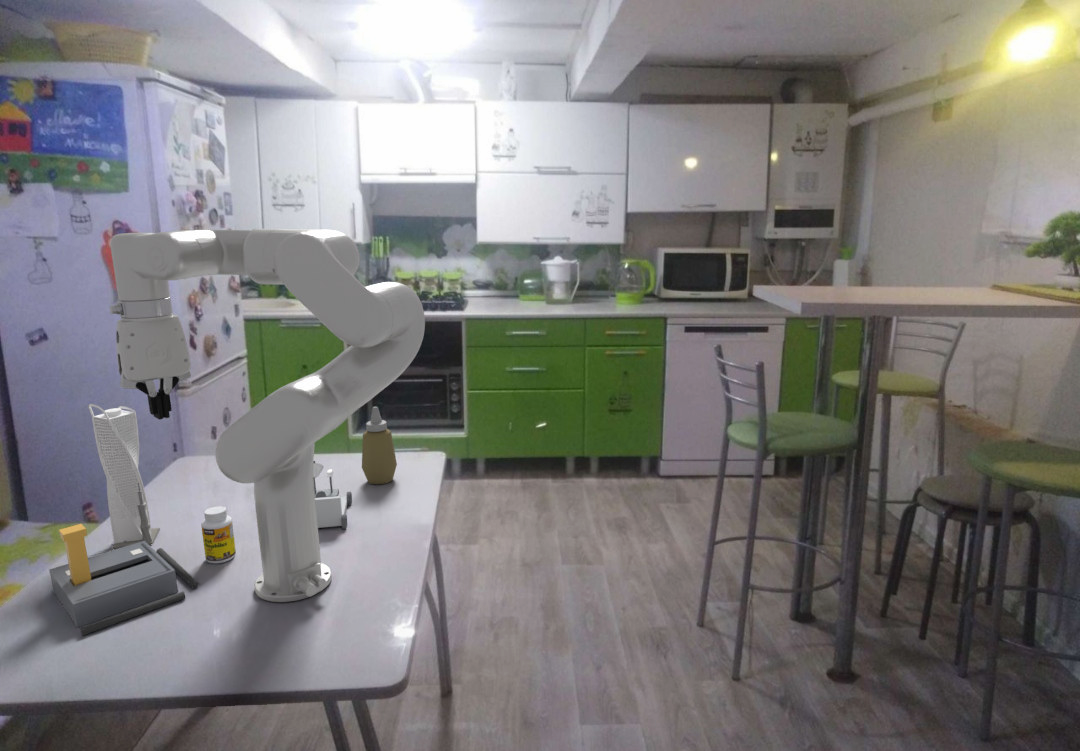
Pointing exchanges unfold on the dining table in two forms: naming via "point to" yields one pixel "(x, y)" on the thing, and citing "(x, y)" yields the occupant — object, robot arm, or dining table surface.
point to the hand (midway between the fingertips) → (161, 416)
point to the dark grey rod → (178, 568)
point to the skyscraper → (123, 476)
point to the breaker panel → (115, 583)
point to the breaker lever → (76, 553)
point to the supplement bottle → (218, 535)
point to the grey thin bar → (132, 613)
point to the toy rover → (330, 502)
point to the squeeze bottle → (378, 451)
